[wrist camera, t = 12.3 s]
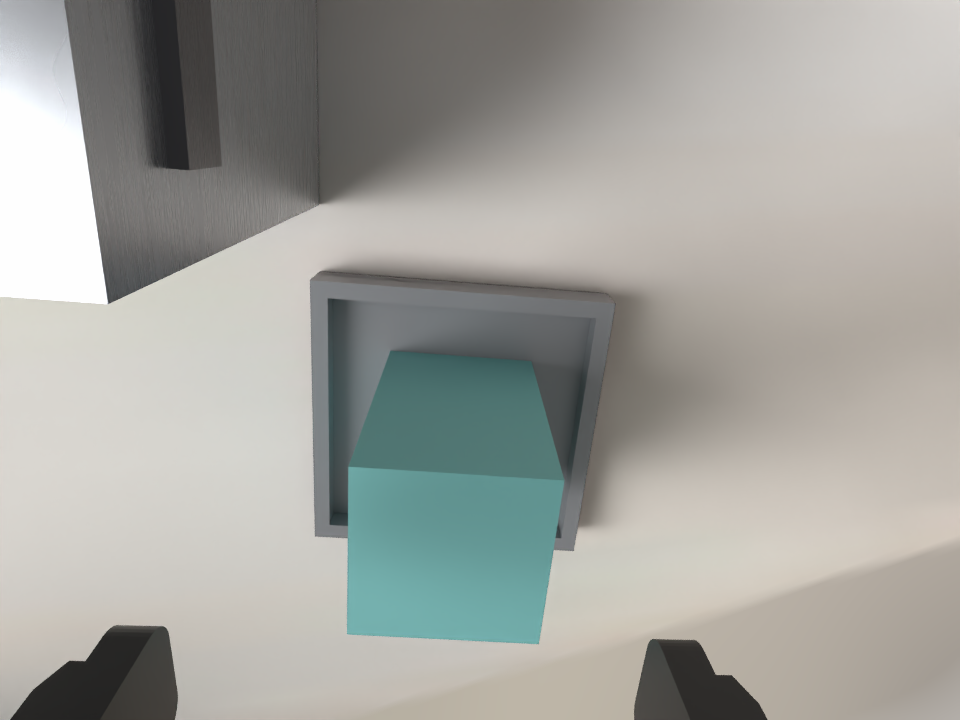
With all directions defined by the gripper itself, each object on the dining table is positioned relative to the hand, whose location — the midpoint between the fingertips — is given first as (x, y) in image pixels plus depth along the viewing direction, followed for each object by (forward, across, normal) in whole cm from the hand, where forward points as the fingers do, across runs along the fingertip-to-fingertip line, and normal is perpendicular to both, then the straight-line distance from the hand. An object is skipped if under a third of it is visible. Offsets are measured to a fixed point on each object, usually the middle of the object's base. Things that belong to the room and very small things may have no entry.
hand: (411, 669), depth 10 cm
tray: (+11, -1, 0) cm, 11 cm away
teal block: (+10, -1, 0) cm, 10 cm away
